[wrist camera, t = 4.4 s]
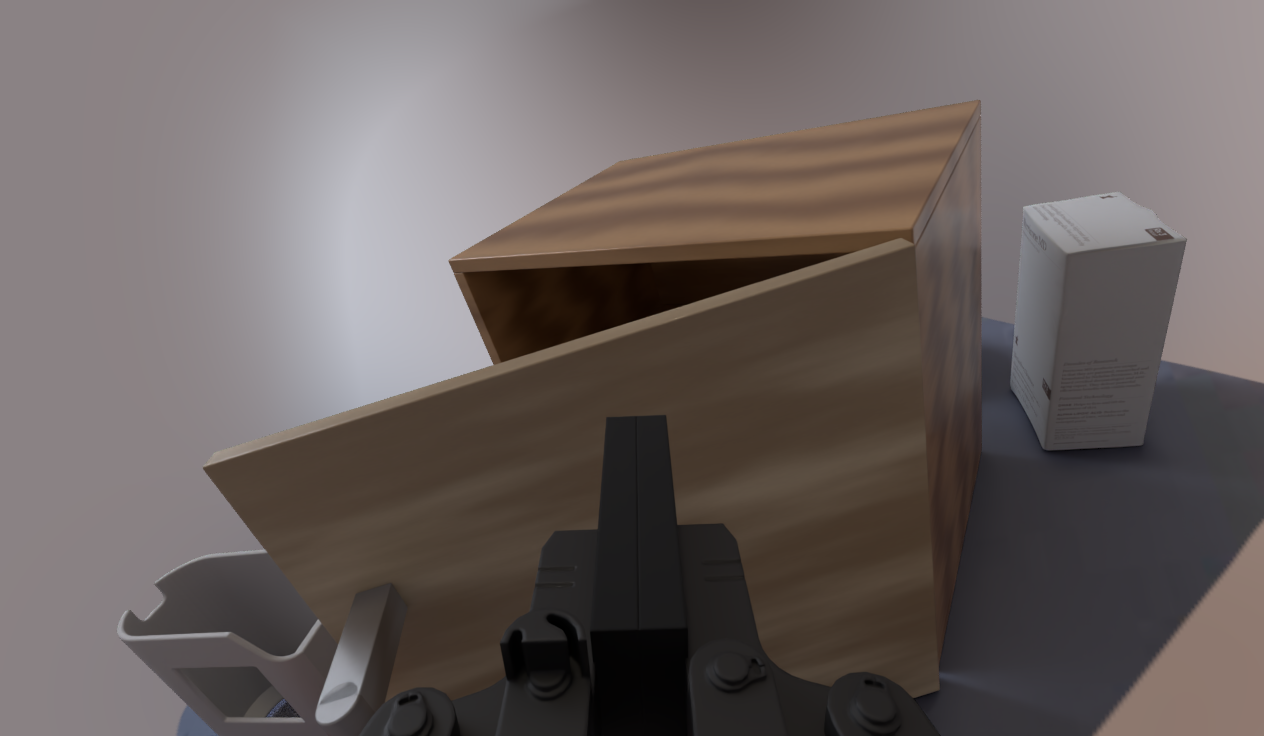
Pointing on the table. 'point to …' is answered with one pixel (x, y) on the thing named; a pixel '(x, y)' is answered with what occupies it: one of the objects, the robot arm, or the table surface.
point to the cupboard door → (572, 472)
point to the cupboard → (767, 259)
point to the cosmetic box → (1092, 318)
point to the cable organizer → (236, 644)
